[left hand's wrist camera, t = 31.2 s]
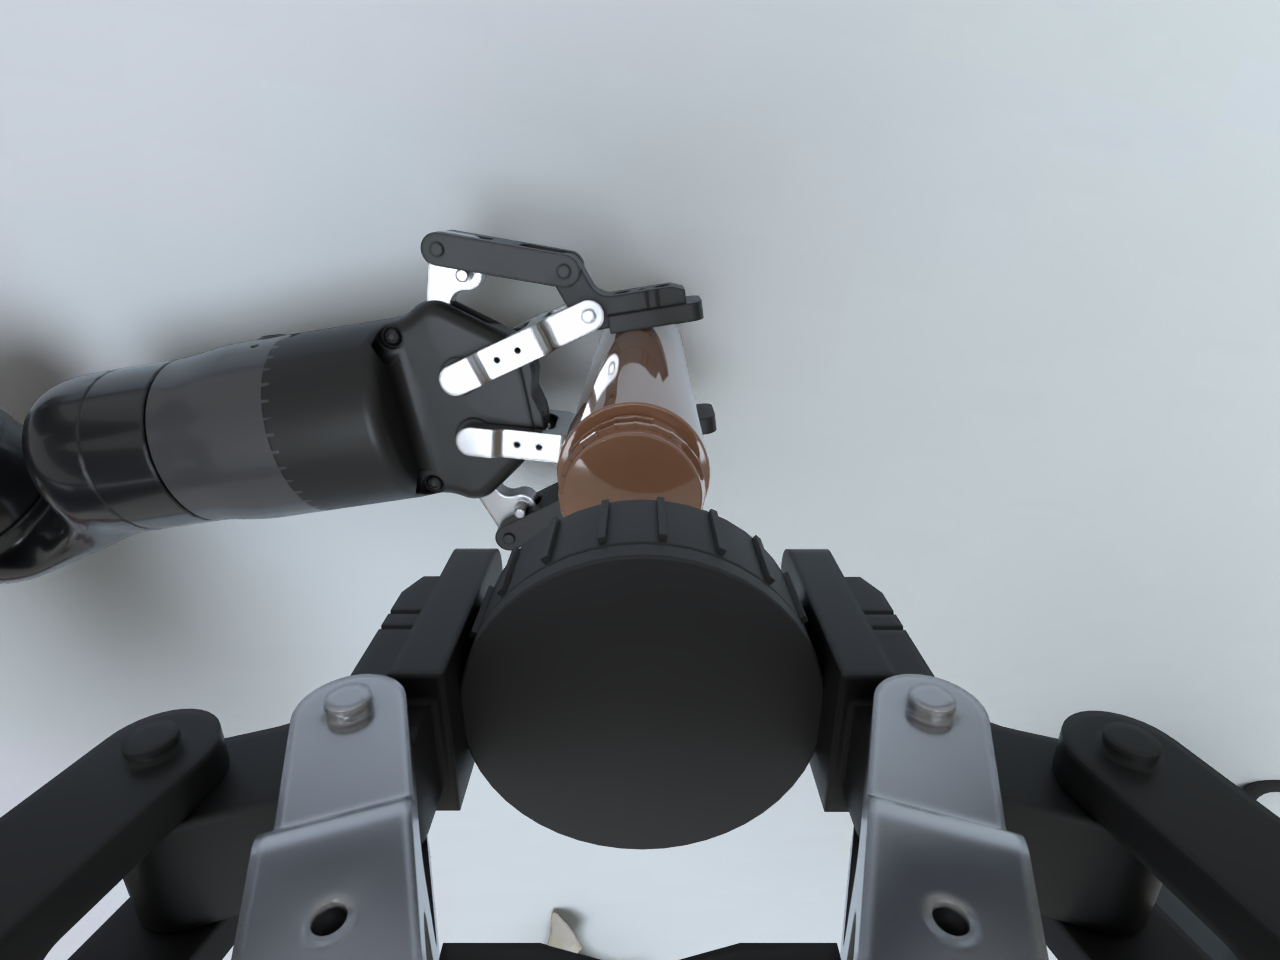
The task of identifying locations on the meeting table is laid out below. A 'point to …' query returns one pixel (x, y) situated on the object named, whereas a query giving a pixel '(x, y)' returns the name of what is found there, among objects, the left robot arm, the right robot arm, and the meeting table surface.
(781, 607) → the lid
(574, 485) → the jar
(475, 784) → the meeting table surface
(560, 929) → the bone
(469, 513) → the meeting table surface
